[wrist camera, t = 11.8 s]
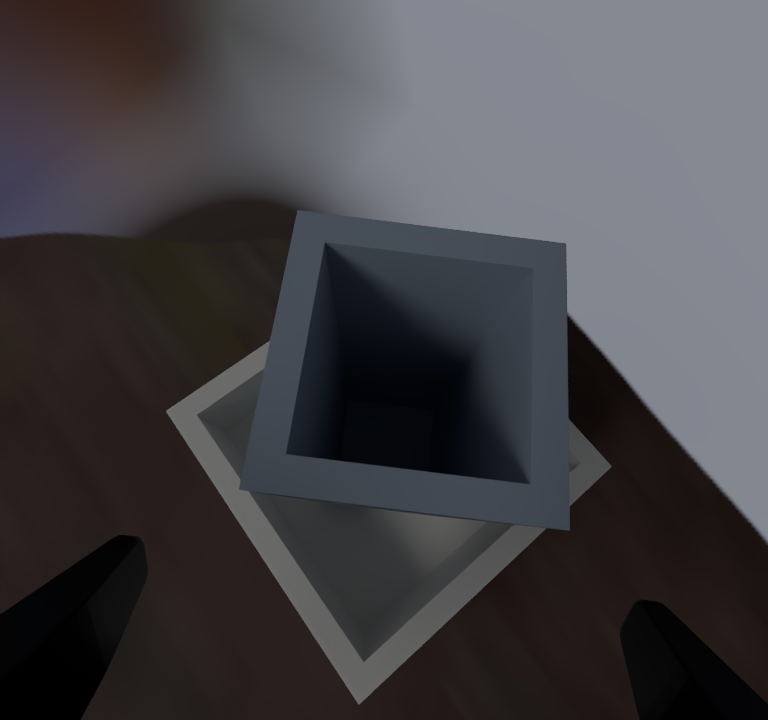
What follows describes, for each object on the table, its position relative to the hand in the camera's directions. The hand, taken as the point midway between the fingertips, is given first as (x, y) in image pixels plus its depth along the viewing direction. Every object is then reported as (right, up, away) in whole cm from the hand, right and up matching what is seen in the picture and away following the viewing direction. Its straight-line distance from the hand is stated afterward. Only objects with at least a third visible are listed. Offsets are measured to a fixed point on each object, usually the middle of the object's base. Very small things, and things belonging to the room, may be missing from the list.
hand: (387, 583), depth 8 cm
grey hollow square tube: (0, 0, +12) cm, 12 cm away
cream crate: (0, 0, +12) cm, 12 cm away
